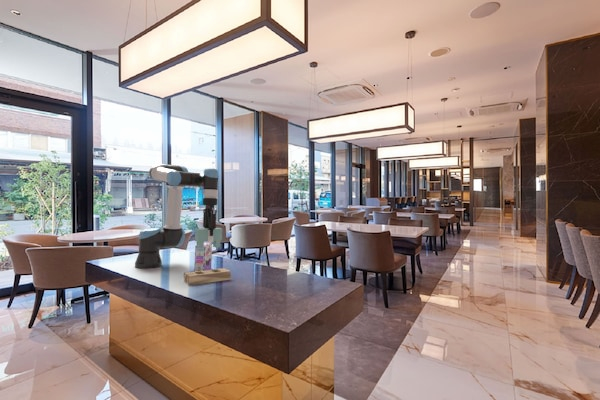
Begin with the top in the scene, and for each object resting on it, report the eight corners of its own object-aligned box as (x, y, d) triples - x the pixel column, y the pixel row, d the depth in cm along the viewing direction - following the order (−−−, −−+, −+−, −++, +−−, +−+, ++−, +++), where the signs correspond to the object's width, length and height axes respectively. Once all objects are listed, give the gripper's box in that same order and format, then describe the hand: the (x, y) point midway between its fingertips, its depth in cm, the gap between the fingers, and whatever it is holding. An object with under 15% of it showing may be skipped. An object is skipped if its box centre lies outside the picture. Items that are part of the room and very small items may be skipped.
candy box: (203, 274, 171) (205, 245, 171) (193, 273, 171) (194, 245, 171) (211, 268, 184) (212, 242, 185) (202, 268, 185) (203, 242, 185)
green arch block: (194, 247, 156) (195, 228, 156) (218, 246, 164) (219, 227, 164) (197, 248, 152) (198, 229, 152) (221, 247, 160) (222, 228, 160)
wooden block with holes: (183, 281, 155) (184, 272, 155) (223, 275, 168) (224, 268, 168) (189, 285, 148) (189, 276, 148) (230, 279, 161) (230, 271, 161)
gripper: (197, 197, 163) (196, 239, 163) (209, 197, 149) (207, 244, 149) (211, 197, 167) (209, 239, 167) (223, 198, 154) (221, 243, 153)
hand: (208, 241), depth 158 cm, fingers closed on green arch block, 4 cm apart
